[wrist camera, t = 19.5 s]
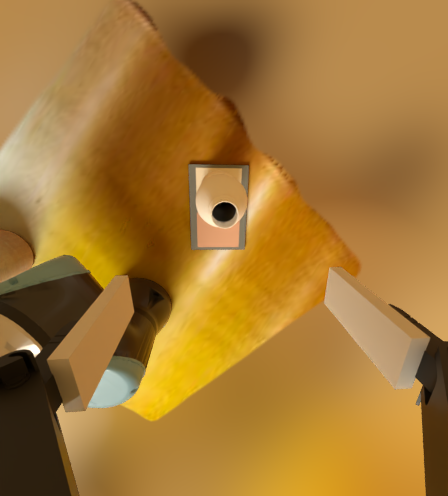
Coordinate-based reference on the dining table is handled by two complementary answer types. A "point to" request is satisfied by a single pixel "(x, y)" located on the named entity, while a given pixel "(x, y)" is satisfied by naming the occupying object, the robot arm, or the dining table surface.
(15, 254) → the planter
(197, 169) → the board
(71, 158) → the dining table surface
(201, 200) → the water bottle
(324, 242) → the dining table surface
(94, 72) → the dining table surface
